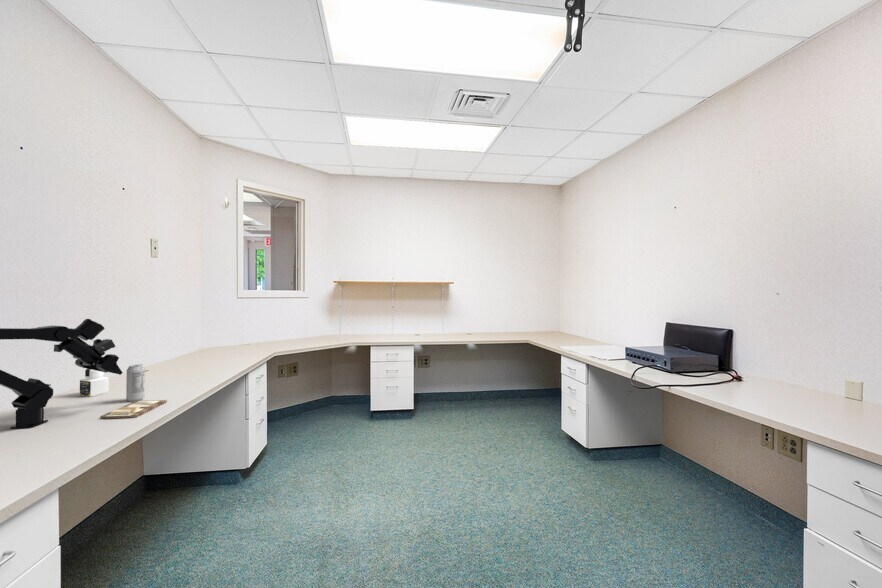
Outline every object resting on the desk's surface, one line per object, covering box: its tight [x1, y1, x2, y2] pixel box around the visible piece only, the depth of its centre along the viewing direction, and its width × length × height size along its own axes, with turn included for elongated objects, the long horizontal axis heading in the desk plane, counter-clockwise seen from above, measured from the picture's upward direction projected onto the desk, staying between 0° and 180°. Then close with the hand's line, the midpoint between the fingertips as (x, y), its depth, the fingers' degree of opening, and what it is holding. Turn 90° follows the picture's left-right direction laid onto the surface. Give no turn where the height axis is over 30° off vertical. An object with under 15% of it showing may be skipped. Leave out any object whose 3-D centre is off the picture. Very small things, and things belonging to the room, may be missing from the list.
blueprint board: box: [99, 399, 168, 420], centre depth 143 cm, size 20×12×2 cm, turn 9°
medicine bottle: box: [79, 368, 110, 398], centre depth 165 cm, size 7×7×12 cm
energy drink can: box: [125, 363, 146, 403], centre depth 156 cm, size 6×6×15 cm
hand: (114, 372), depth 149 cm, fingers open, 9 cm apart
